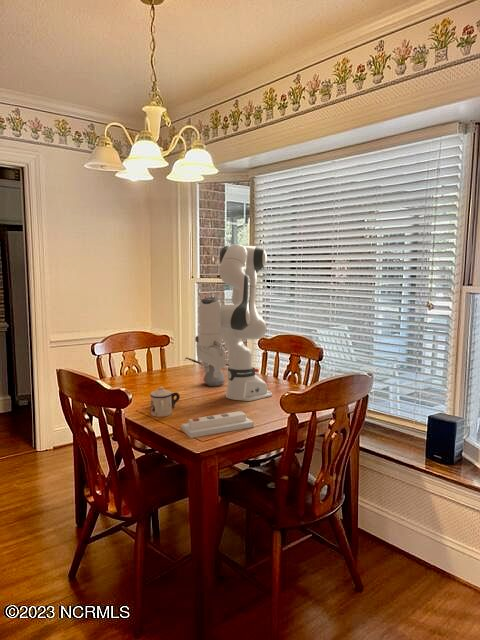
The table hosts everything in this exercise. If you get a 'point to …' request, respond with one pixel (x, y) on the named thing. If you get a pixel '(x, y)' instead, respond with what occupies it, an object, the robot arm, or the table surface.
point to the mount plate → (216, 428)
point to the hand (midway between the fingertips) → (211, 374)
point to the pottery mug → (175, 399)
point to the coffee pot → (211, 375)
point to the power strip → (217, 420)
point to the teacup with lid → (161, 402)
